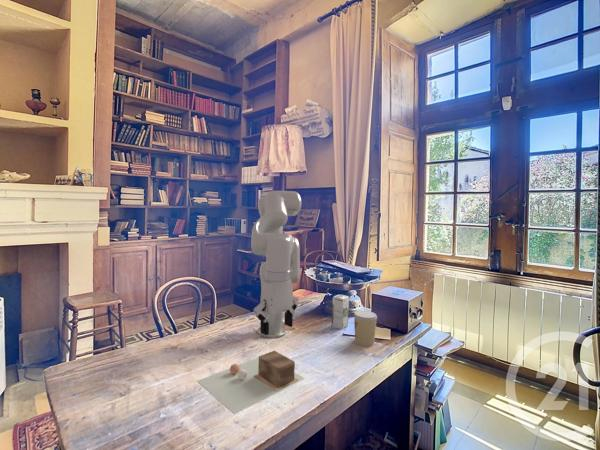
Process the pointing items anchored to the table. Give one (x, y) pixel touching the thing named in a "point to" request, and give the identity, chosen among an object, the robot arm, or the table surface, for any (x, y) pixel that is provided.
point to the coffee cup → (365, 327)
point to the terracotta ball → (234, 369)
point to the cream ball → (242, 374)
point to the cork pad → (272, 384)
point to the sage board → (239, 387)
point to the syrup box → (340, 311)
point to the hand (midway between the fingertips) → (276, 329)
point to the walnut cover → (276, 368)
